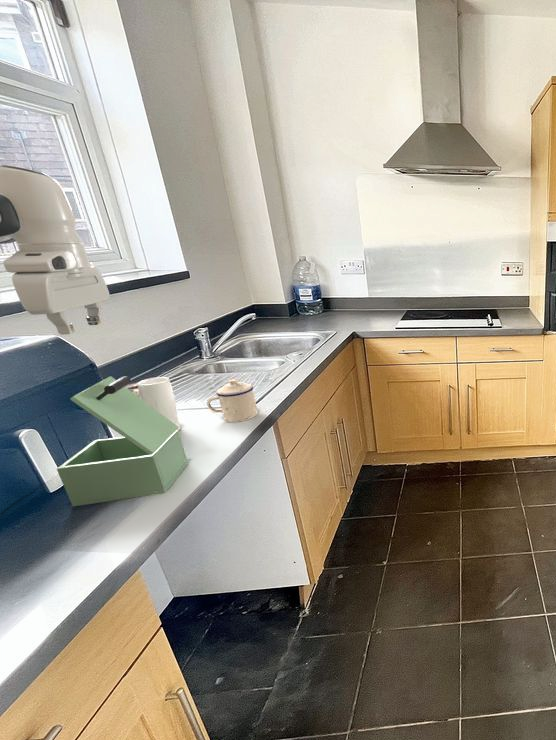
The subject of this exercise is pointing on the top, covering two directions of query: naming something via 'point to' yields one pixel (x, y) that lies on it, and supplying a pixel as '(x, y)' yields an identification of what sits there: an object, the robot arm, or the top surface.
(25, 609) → the top surface
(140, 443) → the box lid
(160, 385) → the white vase
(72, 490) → the storage box
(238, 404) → the teacup with lid
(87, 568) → the top surface
